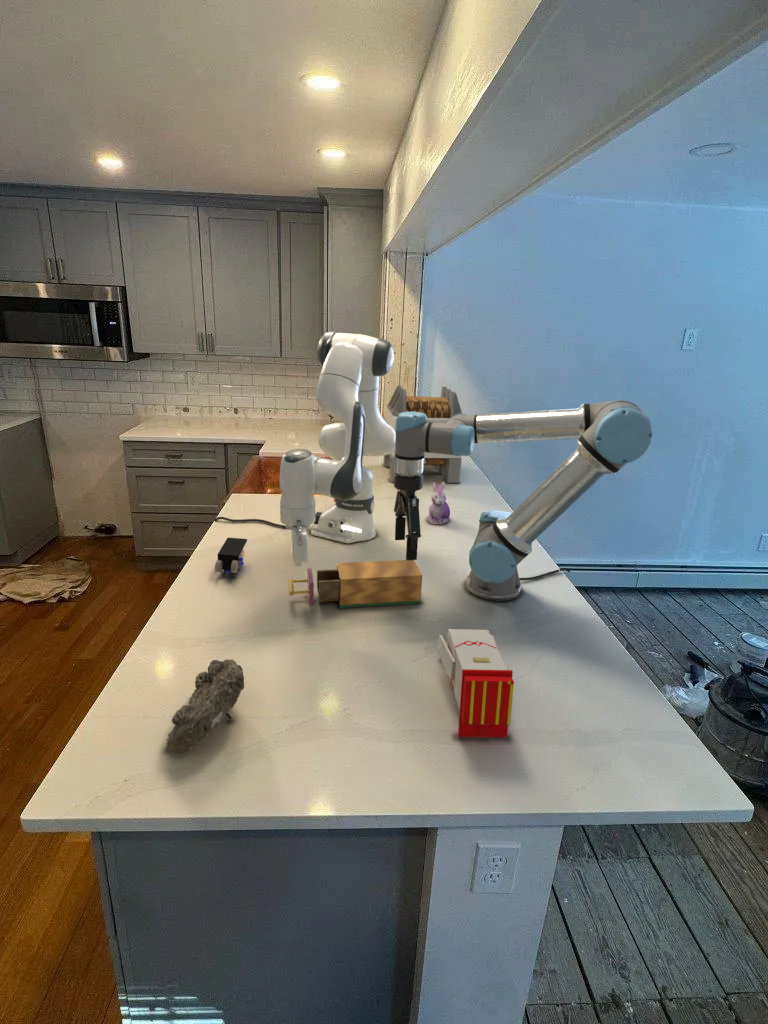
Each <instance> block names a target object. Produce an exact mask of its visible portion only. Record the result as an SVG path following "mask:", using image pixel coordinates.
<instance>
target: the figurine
mask: <svg viewBox="0 0 768 1024" xmlns="http://www.w3.org/2000/svg"><path fill="white" fill-rule="evenodd" d="M445 486H446V485H445V481H442V482H441V483H440V484H439V486H438V483H436V482H432V491H433V492H432V494H431V498H430V499H431V502H432V503H431V505H429V507H428V517H427V518H428V519H427V520H428V521H429V523H430V524H433V525H442V524H447V523H448V522H449V520H450V516H451V509H450V506H449V504H448V503H447V496H446V494H445V491H444V489H445Z"/></svg>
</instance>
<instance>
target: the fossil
mask: <svg viewBox="0 0 768 1024" xmlns="http://www.w3.org/2000/svg"><path fill="white" fill-rule="evenodd" d="M243 670H244V669H243V667H242V665H240V664H237V662H236V661H235V660H234V659H232V658H231V659H227V658H226V659H224V660H223V661H222V660H217V659H212V660H211V661H210V663H209V665H208V666H207V671H201V672H199V673H198V674H197V675H196V676H195V680H194V684H195V685H194V687H195V689H194V690H193V693H192V694H191V697H190V698H189V700H188V704H184V705H182V706H181V707H180V709H177V710H176V711H175V713H174V715H173V716H172V718H171V723H172V724H173V727H172V730H171V731H170V732H168V734H167V738H166V741H167V742H166V745H167V749H168V750H169V751H173V752H174V753H176V754H178V753H182V752H188V751H189V752H192V751H193V750H195V748H196V747H197V746H199V744H200V743H201V742H203V741H204V740H205V739H206V738H207V737H208V736H209V735H210V734H211V733H212V732H214V730H215V729H217V727H218V726H219V724H220V722H221V721H222V720H223V719H224V718H225V716H226V717H227V719H229V720H233V717H232V715H230V714H229V710H230V709H231V708H234V706H235V704H236V703H237V702H238V699H239V697H240V695H241V693H242V691H243V690H245V689H244V688H245V675H244V671H243Z"/></svg>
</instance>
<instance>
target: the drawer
mask: <svg viewBox="0 0 768 1024" xmlns="http://www.w3.org/2000/svg"><path fill="white" fill-rule="evenodd" d="M340 582H341V581H340V577H339V573H338V569H337V568H335V569H333V568H332V569H317V570H316V592H317V598H318V602H319V603H321V602H336V601H338V602H339V601H340ZM296 583H306V590H295V589H294V584H296ZM287 585H288V595H289V596H291V597H293V596H294V595H303V594H307V599H308V605H309V606H314V605H315V582H314V575H313V570H312V567H307V568H306V578H303V579H293V578H291V577H290V578H288V579H287Z"/></svg>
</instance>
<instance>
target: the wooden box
mask: <svg viewBox="0 0 768 1024" xmlns="http://www.w3.org/2000/svg"><path fill="white" fill-rule="evenodd" d="M336 569H338V573H339V577H340V581H341V582H340V601H338V603H339V608H341V609H343V608H345V609H346V608H359V607H360V608H361V607H378V606H379V607H380V606H391V605H393V606H394V605H395V606H396V605H411V604H421V603H422V602H421V601H422V585H423V573H422V571H421V570H420V568H419V567H418V565H417V563H416V560H406V559H398V560H397V559H396V560H375V561H350V562H349V561H348V562H336Z"/></svg>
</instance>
